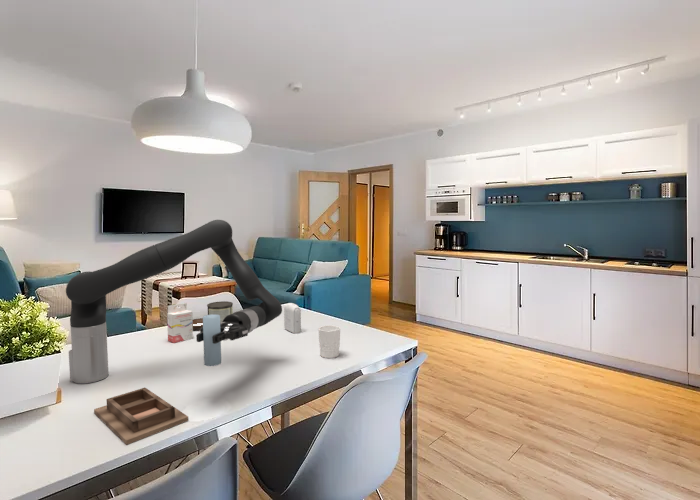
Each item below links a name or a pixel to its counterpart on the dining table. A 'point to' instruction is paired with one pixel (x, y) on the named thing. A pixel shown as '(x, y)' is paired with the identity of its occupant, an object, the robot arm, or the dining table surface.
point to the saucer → (196, 323)
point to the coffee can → (220, 309)
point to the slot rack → (139, 415)
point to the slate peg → (211, 350)
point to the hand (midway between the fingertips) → (205, 339)
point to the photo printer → (292, 318)
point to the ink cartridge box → (179, 323)
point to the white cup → (329, 341)
